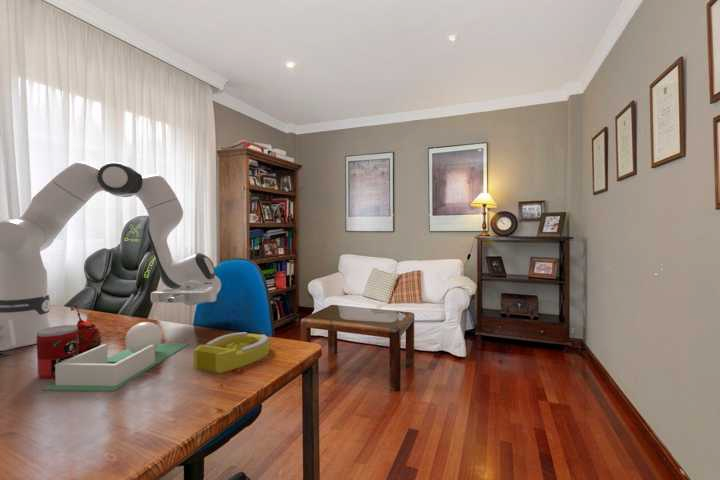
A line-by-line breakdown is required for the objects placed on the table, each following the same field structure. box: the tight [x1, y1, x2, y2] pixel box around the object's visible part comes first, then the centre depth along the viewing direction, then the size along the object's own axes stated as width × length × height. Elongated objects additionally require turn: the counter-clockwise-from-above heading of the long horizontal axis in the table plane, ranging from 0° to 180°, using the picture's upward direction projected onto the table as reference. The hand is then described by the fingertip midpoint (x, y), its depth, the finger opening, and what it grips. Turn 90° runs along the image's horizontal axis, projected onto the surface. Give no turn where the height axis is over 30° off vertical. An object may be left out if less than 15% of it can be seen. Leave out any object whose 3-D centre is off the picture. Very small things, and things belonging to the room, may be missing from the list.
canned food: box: [36, 324, 79, 380], centre depth 85 cm, size 8×8×11 cm
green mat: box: [42, 342, 189, 392], centre depth 91 cm, size 31×16×1 cm, turn 178°
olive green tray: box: [193, 331, 270, 374], centre depth 96 cm, size 16×21×5 cm
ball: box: [124, 321, 163, 353], centre depth 97 cm, size 9×9×9 cm
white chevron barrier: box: [55, 343, 155, 386], centre depth 84 cm, size 14×14×5 cm
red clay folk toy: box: [70, 301, 102, 354], centre depth 100 cm, size 8×7×15 cm
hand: (170, 300), depth 109 cm, fingers closed
